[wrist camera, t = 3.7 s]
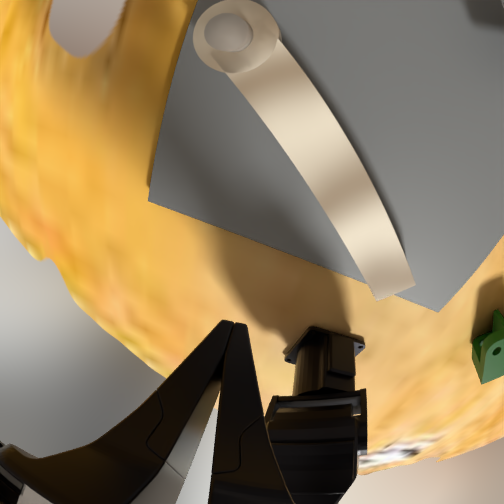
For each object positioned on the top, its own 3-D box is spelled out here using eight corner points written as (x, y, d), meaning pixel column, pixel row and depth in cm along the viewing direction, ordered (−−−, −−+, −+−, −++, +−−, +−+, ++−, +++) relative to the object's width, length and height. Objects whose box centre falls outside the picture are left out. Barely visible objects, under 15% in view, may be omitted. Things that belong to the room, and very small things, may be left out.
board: (435, 304, 23) (438, 312, 22) (153, 194, 21) (147, 201, 20) (574, 57, 5) (581, 59, 5) (274, -131, 4) (272, -137, 3)
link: (194, 36, 13) (162, 30, 9) (252, -5, 11) (235, -25, 7) (365, 279, 21) (372, 321, 17) (413, 259, 19) (428, 299, 16)
